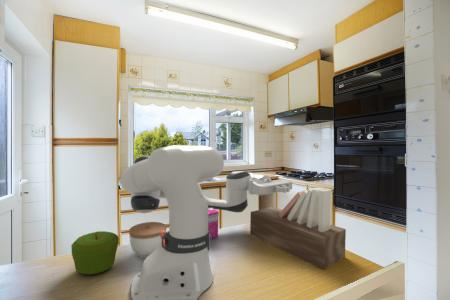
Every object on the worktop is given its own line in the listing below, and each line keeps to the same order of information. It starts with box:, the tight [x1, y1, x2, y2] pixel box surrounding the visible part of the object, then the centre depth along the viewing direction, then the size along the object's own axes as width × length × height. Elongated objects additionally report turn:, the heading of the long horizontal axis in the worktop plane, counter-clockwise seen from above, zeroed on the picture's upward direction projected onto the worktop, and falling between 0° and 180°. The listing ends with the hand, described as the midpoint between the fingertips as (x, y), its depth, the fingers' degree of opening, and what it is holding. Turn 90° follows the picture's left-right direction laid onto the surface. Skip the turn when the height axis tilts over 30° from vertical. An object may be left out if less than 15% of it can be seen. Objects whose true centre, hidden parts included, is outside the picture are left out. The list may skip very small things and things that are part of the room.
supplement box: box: [208, 208, 219, 241], centre depth 94 cm, size 6×6×12 cm
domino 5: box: [318, 188, 332, 232], centre depth 78 cm, size 5×2×14 cm, turn 126°
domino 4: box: [307, 187, 325, 228], centre depth 81 cm, size 5×2×14 cm, turn 127°
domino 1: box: [279, 190, 304, 218], centre depth 89 cm, size 5×2×14 cm
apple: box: [71, 230, 120, 275], centre depth 69 cm, size 12×12×11 cm
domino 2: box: [287, 189, 308, 221], centre depth 86 cm, size 5×2×14 cm
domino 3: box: [297, 187, 316, 224], centre depth 83 cm, size 5×2×14 cm, turn 126°
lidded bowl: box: [128, 221, 167, 259], centre depth 80 cm, size 13×13×11 cm
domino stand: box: [249, 206, 347, 271], centre depth 88 cm, size 14×34×10 cm, turn 37°
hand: (287, 190), depth 91 cm, fingers closed
